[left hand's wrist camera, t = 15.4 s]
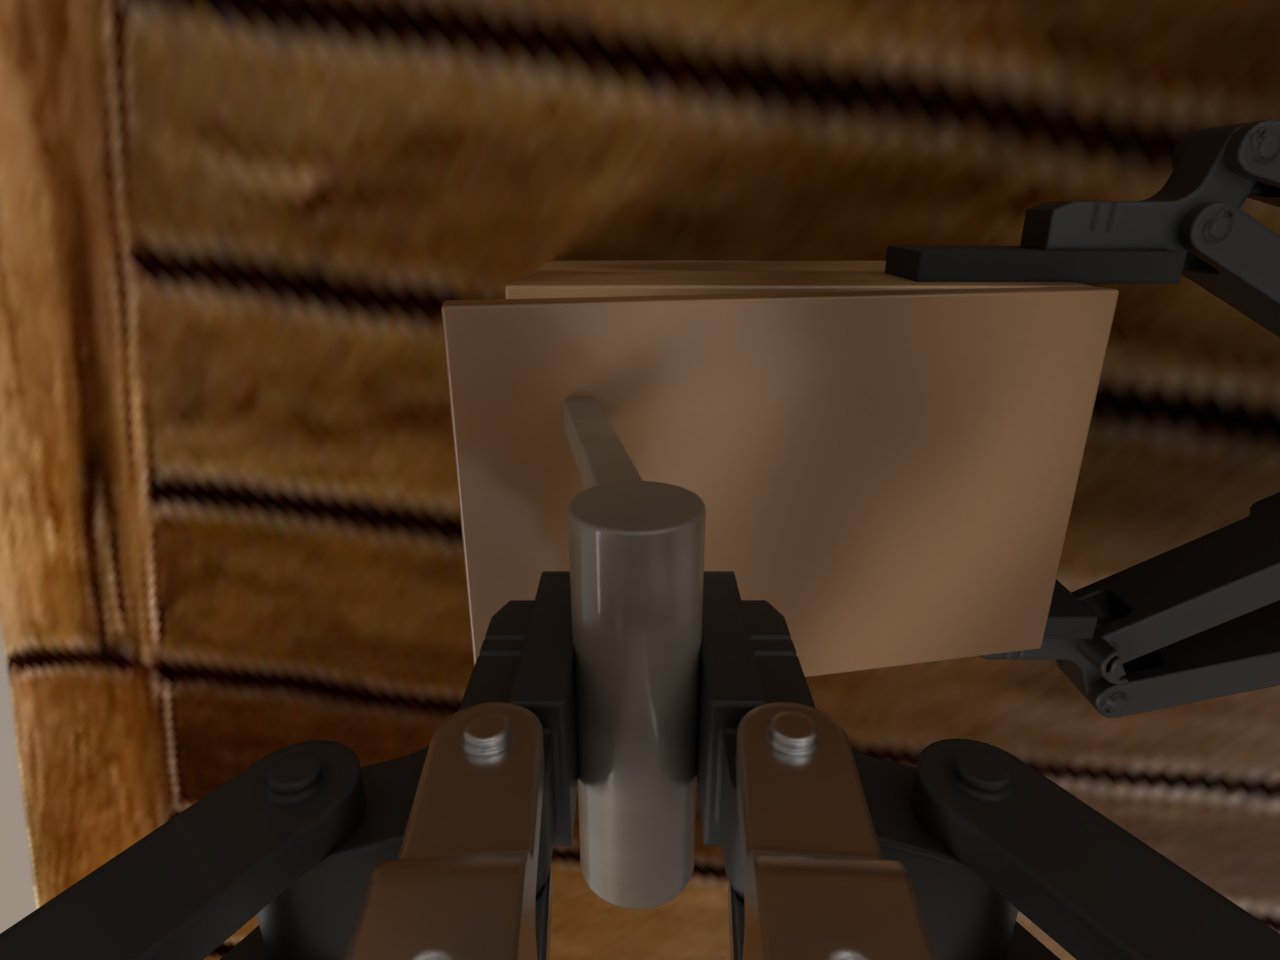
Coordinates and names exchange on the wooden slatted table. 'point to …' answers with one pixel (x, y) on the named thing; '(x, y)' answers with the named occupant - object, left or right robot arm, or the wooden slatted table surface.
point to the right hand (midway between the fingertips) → (879, 448)
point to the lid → (761, 499)
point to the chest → (721, 278)
